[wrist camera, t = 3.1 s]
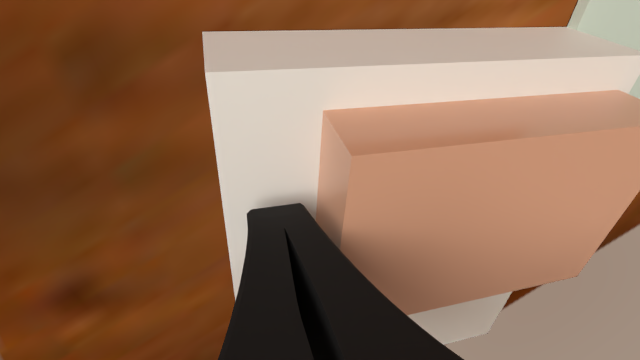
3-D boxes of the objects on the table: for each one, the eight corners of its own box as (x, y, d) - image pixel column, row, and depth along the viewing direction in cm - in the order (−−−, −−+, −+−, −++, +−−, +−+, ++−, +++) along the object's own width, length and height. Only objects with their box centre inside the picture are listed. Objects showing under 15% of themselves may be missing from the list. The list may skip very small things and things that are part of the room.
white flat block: (455, 285, 21) (487, 333, 18) (240, 331, 18) (247, 395, 16) (566, 26, 13) (651, 54, 10) (202, 32, 10) (205, 72, 7)
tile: (535, 236, 14) (577, 276, 13) (312, 277, 12) (329, 333, 10) (618, 89, 11) (689, 120, 9) (323, 110, 8) (351, 156, 7)
